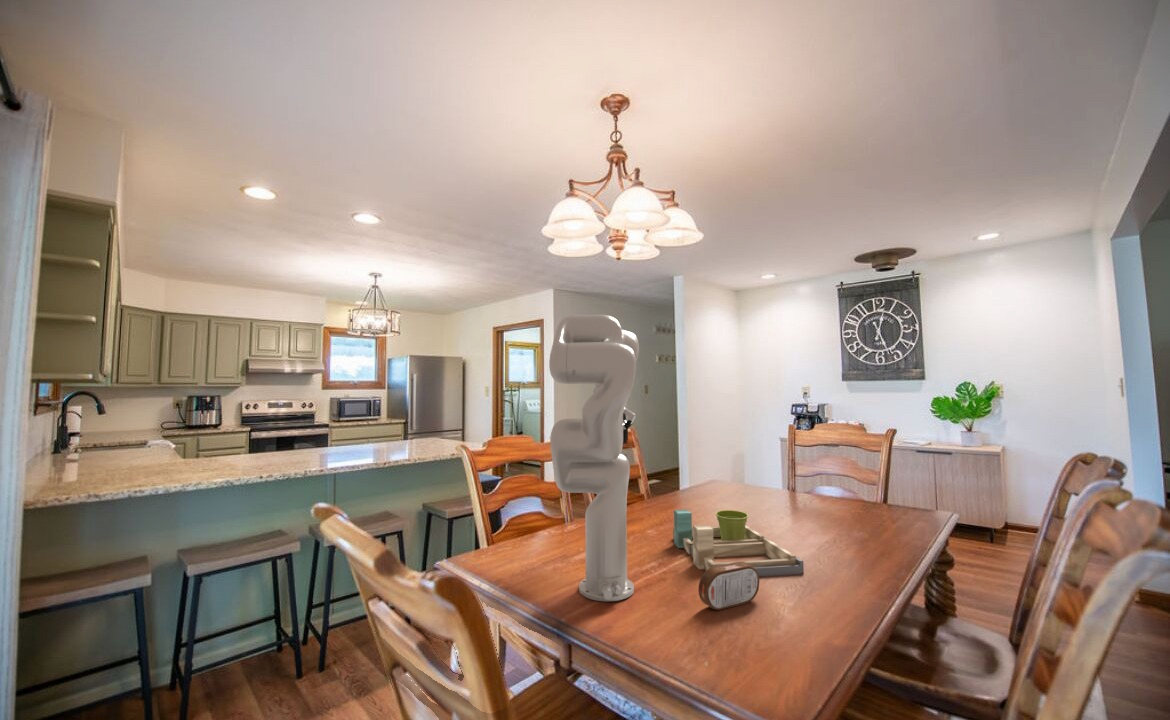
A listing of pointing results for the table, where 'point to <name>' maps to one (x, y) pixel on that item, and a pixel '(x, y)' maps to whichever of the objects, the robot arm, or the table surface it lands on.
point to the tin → (728, 585)
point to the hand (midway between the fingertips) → (608, 442)
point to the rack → (780, 569)
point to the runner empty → (735, 550)
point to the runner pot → (685, 530)
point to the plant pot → (732, 524)
